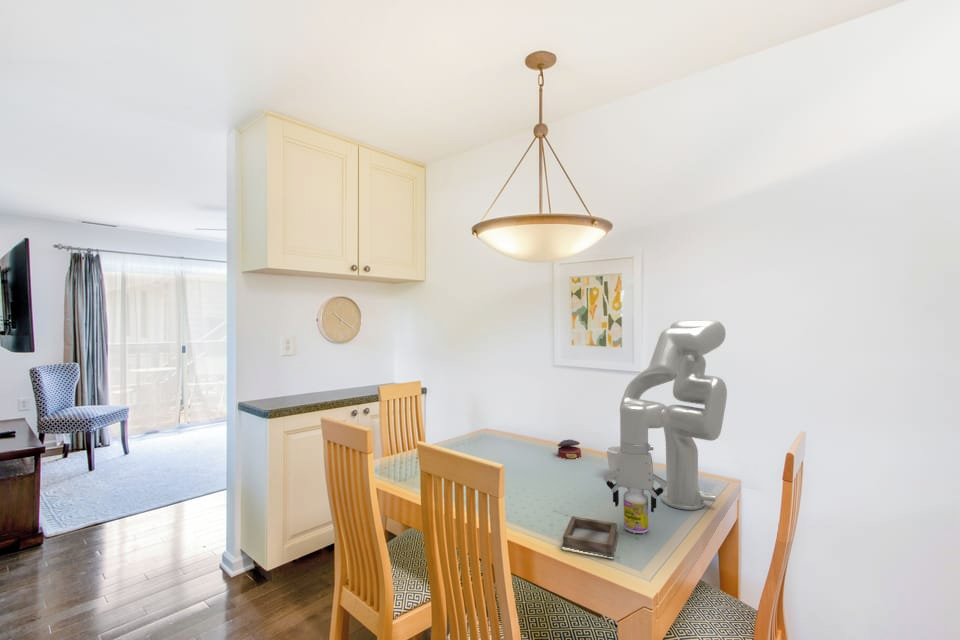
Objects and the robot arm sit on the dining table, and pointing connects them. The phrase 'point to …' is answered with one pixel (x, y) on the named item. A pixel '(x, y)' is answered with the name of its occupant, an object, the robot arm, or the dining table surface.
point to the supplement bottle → (635, 511)
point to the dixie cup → (612, 457)
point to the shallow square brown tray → (591, 536)
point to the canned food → (569, 449)
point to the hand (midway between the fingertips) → (634, 507)
